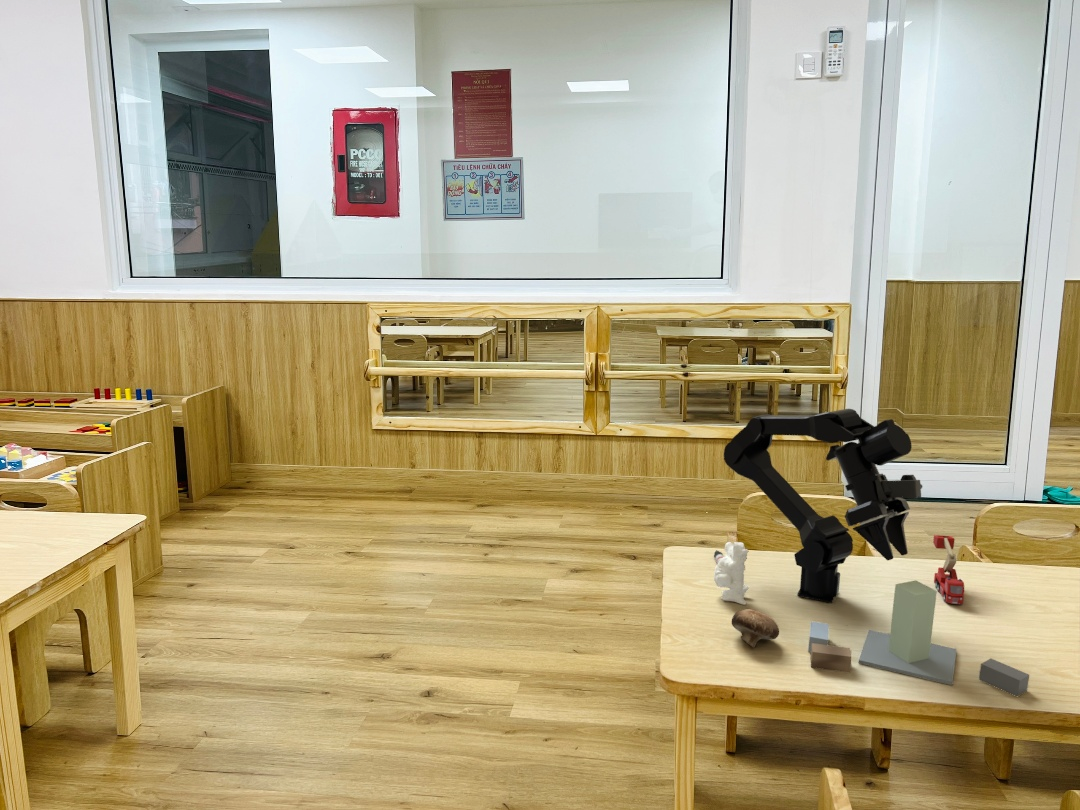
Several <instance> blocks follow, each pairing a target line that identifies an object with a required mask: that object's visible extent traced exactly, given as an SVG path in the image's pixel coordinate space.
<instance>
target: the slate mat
mask: <svg viewBox="0 0 1080 810" xmlns="http://www.w3.org/2000/svg"><path fill="white" fill-rule="evenodd" d="M889 640H890V633H886V632H882V631H876V630H872V629H868V631H867V635H866V638H865V640H864V643H863V646H862V649H861V652H860V655H859V658H858V664H860V665H865V666H869V667H873V668H877V669H880V670H881V669H882V670H885V671H890V672H894V673H899V674H903V675H907V676H911V677H915V678H920V679H924V680H928V681H933V682H937V683H941V684H945V685H949V686H953V683H954V682H953V681H954V673H955V665H956V655H957V648H955V647H950V646H946V645H940V644H937V643H931V644H930V653H929V658H928V659H924V660H920V661H915V662H911V663H907V662H906V661H904V660H903V659H901V658H899V657H898V656H896V655H895V654H893V653H891V652H890V651H888V650H889Z"/></svg>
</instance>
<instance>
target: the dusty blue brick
mask: <svg viewBox="0 0 1080 810" xmlns="http://www.w3.org/2000/svg"><path fill="white" fill-rule="evenodd" d="M809 627H810V628H809V639H808V650H807V652H808V653H810V654H811V645H812V643H815V644H823V645H829V629H830V624H829V623H824V622H818V621H811V620H810V626H809Z"/></svg>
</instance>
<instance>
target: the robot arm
mask: <svg viewBox="0 0 1080 810" xmlns="http://www.w3.org/2000/svg"><path fill="white" fill-rule="evenodd" d="M773 436H802V437H803V436H805V437H811V438H812V439H814V440H816V441H820V442H824V443H829V444H833V445H830V447H829V451H828V453H827V454H826V457H825V459H826V460H827V461H833V460H837V462H838V464H839V467H840V468H841V470H842V474H843V475H844V478H845V481H846V483H847V485H844V486H845V490H846V491H847V492H851V494H852V497H853V499H854V501H855V503H856V506H853V507H851V508H849V509H847V510H846V511H845V514H844V519H845V521H846V524H847V526H848V528H847V527H846V526H844V525H843V524H842V522H841V521H840V520H839V519H838V517H836V516H835V515H829V516H826V517H823V516H821V515H819V514H818V512H816V511H815V509H813V507H812V506H811V505H810V504H809V503H808V502H807V501H806V500H805V499H804V498H803V497H802V496H801V495H800V494H799V493H798V492H797V490H795V489H794V487H793V486H792V485H791V484H790V483H789V482H788V481H787V480H786V479H785V478H784V477H783V476H782V475H781V474H780V473H779V471H777V469H776V468H775V467H774V466H773V464H772V459H771V455H770V454H771V453H770V452H769V451H768V450H769V448H770V447H771V445H772V443H773V442H772V441H773ZM855 441H858V442H859V443H857V442H855ZM839 442H842V443H845V444H842V445H839V444H835V443H839ZM912 447H913V446H912V441H911V437H910V436H909V433H906V431H905V430H904V429H903V428H902V427H900V426H899V425H897V424H896V423H895V422H894V419H890V418H889V419H884V420H883V421H880V422H879V423H878V424H877V425H873V424H871V423H869V422H868V421H866V419H864V418H862V417H861V416H860V415H859V413H858V412H857V411H856V410H855V409H852V408H844V409H837V410H832V411H826V412H822V413H818V414H812V415H811V414H809V415H808V414H806V415H805V414H804V415H803V414H801V415H799V414H797V415H794V414H792V415H791V414H789V415H786V414H781V415H778V414H777V415H775V414H774V415H773V414H770V413H767V414H761V415H757V416H752V418H750V420H749V421H748V422H747V424H746V426H744V427H743V429H740V431H739V432H738V433H737V434H735V435H734V436H733V437H732V439H731V440H730V441H729V442H728V443H726V445H725V447H724V449H723V460H724V463H725V464H726V465H727V466H728V468H730V469H731V470H732V471H733V472H735V473H736V474H737V475H739V476H741V477H743V478H746V479H748V480H750V481H751V482H753V483H755V485H756V486H757V487H758V488H759V489H760V490H761V492H762V493H764V495H765V496H766V497H767V498H768V499H769V500H770V501H771V502H772V503H773V504H774V506H776V507H777V509H778V510H779V512H781V513H782V515H783V516H784V517H785V518H787V520H788V521H789V522H790V523H791V524H792V525H793V526H794V527H795V528H796V530H797V531H798V533H799V537H800V543H801V546H802V547H803V548H801V549H799V550H798V551H796V552H795V553H794V554H793V555H794V556H793V557H794V561H795V564H796V566H798V567H800V568H801V572H800V582H799V583H800V584H799V590H798V592H797V597H801V598H805V599H810V600H815V601H820V602H825V603H833V602H834V599H835V598H836V597H837V596H838V595H839V592H840V583H841V582H840V581H841V573H840V572H839V571H838V570H839V569H838V568H839V565H842V564H844V563H845V562H846V559H847V558H848V557H850V556H851V554H852V553H853V550H854V545H853V542H854V539H853V537H852V535H851V534H850V533H849V531H850V529H849V527H852V530H853V531H855V532H856V533H857V534H858V535H859V536H861V537H862V538H863V539H864V540H865V541H866V542H867V543H868V544H870V545H871V547H873V549H874V550H876V551H877V552H878V553H879V554H880V555H881V556H882V557H883V558H884V559H885V560H886V561H892V560H893V559H894V554H893V550H892V547H893V548H895V550H896V551H897V552H898V554H900V555H901V556H906V555H907V554H908V553H909V552H908V547H907V539H906V534H905V525H904V523H905V521H906V519H907V518H908V516H909V514H910V512H909V510H910V509H911V508H910V506H909V503H908V501H907V499H909V500H910V499H912V500H913V499H918V498H919V499H920V498H922V489H923V484H921V480H920V479H917V478H916V477H915V475H914V474H903V475H901V478H900V480H898V479H896V480H888V477H887V476H886V474H883V473H880V472H879V470H878V467H877V466H885V464H886V465H887V464H888V463H891V462H893V461H895V460H898V459H900V458H902V457H904V456H906V455H909V454H910V452H911V451H912ZM905 498H906V499H905ZM857 524H859V525H857ZM856 525H857V526H856ZM854 526H855V527H854ZM891 546H892V547H891Z"/></svg>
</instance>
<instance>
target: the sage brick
mask: <svg viewBox="0 0 1080 810" xmlns="http://www.w3.org/2000/svg"><path fill="white" fill-rule="evenodd" d="M894 585H895V587H894V593H893V594H894V596H893V603H892V613H891V624H890V632H889V634H890V640H889V650H888V651H890V652H891V653H893V654H895V655H896V656H898V657H899V658H901V659H903V660H904V661H906V662H907V663H911V662H915V661H920V660H924V659H928V658H929V653H930V644H931V642H932V635H933V626H934V620H935V619H934V618H935V612H936V611H935V610H936V609H935V608H936V600H937V592H938V591H937V589H934V588H932V587H930V586H928V585H926V584H924V583H922V582H920V581H918V580H911V581H906V582H901V583H895V584H894Z"/></svg>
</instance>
